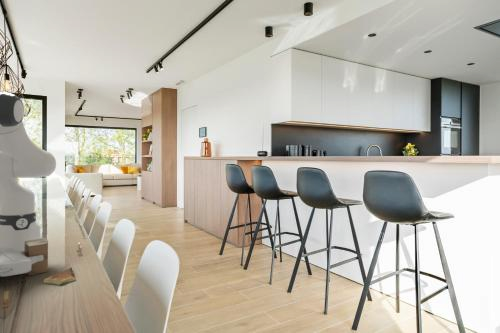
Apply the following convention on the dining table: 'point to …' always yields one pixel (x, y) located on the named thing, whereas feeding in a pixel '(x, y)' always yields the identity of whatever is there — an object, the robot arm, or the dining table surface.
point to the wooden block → (36, 248)
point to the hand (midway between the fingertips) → (39, 255)
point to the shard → (61, 277)
